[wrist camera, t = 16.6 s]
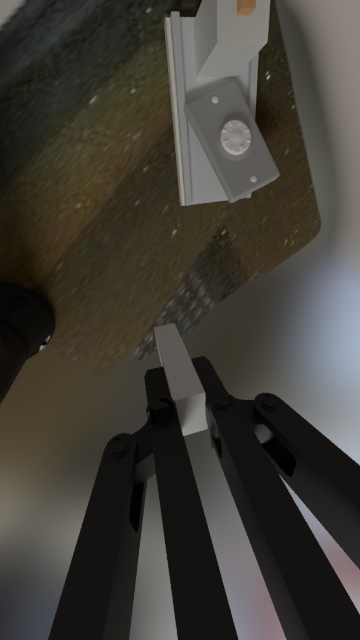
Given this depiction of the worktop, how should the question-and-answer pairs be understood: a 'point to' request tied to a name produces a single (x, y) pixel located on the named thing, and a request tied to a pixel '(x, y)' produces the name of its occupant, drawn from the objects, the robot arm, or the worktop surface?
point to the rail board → (210, 78)
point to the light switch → (231, 140)
